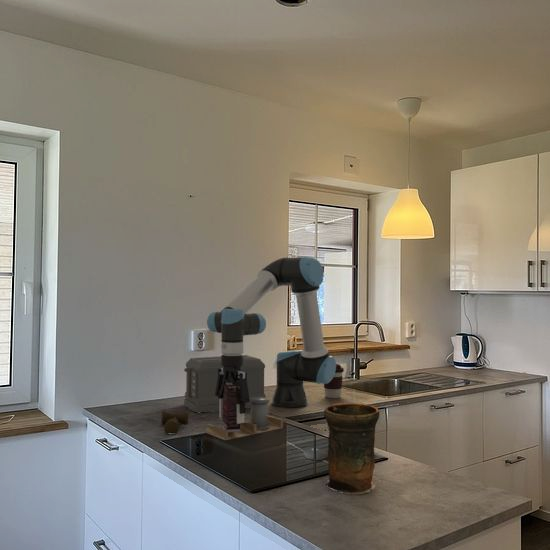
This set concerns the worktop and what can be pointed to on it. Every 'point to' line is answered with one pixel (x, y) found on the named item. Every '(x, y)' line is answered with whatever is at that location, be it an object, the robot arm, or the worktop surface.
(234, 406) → the supplement box
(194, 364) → the toaster
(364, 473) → the vessel
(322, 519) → the worktop surface
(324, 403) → the worktop surface
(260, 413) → the light grey cylinder
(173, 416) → the kendama
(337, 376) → the coffee cup
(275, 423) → the oak rack
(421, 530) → the worktop surface
